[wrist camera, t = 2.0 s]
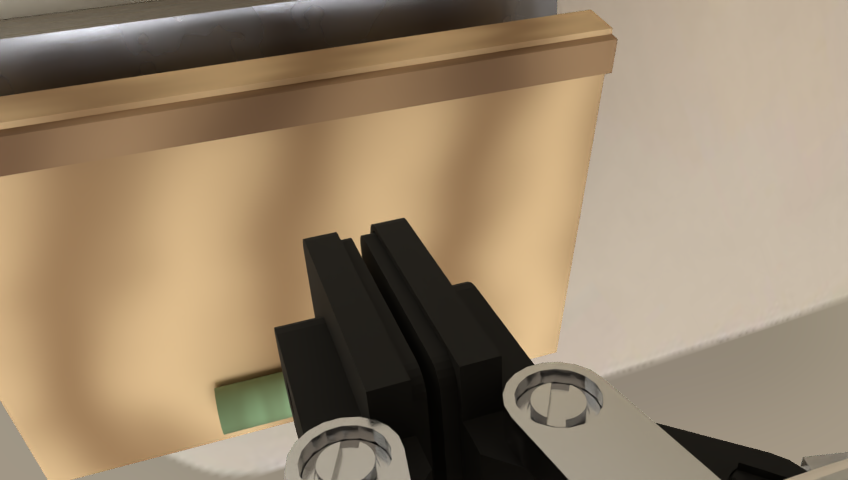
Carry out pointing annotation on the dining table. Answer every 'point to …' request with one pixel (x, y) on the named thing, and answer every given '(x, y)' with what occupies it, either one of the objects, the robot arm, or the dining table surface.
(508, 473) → the robot arm
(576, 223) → the tan flat piece
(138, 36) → the stand
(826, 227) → the dining table surface
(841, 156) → the dining table surface
